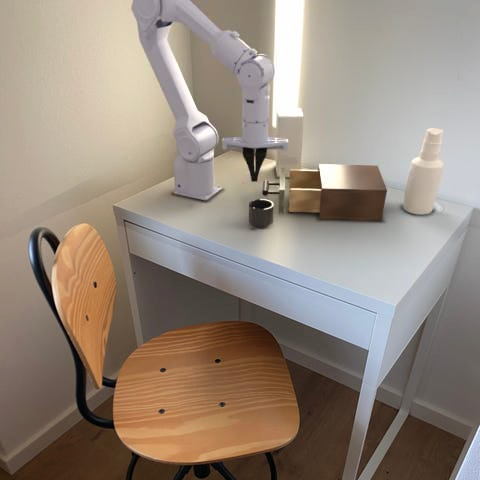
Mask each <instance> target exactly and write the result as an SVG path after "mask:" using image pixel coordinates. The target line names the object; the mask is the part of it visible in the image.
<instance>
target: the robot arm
mask: <svg viewBox="0 0 480 480" xmlns="http://www.w3.org/2000/svg"><path fill="white" fill-rule="evenodd" d="M130 9H131V12H132V14H133V16H134V18H135V20H136V24H137V32H138V39H139V43H140V45H141V47H142V50H143V51H144V54H145V56H146V58H147V60H148V62H149V64H150V65H149V66H150V67H151V69H152V72H153V73H154V76H155V78H156V80H157V82H158V84H159V87H160V89H161V91H162V94H163V96H164V97H165V100H166V102H167V104H168V106H169V108H170V110H171V111H170V112H171V113H172V115H173V117H174V120H175V125H174V128H173V133H172V134H173V136H174V138H175V142H176V149H177V152H178V155H177V156H176V157H175V158H174V161H173V177H174V191H173V194H175V195H178V196H183V197H187V198H191V199H196V200H202V201H209V199H210V198H212V197H213V196H214V195H216V194H217V193H218V192H220V191H221V190H222V187H221V186H217V185H215V184H216V183H215V182H216V180H215V149H216V147H217V146H218V144H219V139H220V138H219V133H218V131H217V129H216V128H215V127H214V125H212V123H210V120H209V118H208V116H207V115H205V114H204V113H202V112H200V111H199V110H198V107H197V106H196V103H195V101H194V99H193V97H192V94H191V92H190V90H189V87H188V85H187V82H186V80H185V78H184V76H183V74H182V71H181V69H180V67H179V64H178V62H177V60H176V57H175V55H174V53H173V51H172V48H171V46H170V43H169V41H168V36H169V34H170V30H171V28H172V26H173V25H174V24H175V23H181V24H182V25H183V26H184V27H186V28H187V29H188V30H190V31H191V32H192V33H194V34H195V35H196V36H198V38H200V39H201V40H202V41H204V42H206V43H207V44H208V45H209V46H210V48H211V53H212V56H213V57H214V58H215V59H216V60H217V61H218V62H220V63H221V64H222V65H223V66H224V67H226V69H228V70H229V71H230V72H231V73H233V75H235V76H236V80H237V83H238V85H239V87H240V88H241V100H242V101H241V107H242V108H241V109H242V110H241V117H242V118H241V136H234V137H223V138H222V140H221V149H222V150H228V149H231V150H232V149H233V150H234V149H236V150H238V149H239V150H242V157H243V159H244V161H245V163H246V165H247V169H248V171H249V176H250V182H252V183H257V182H258V181H259V179H258V178H259V174H260V170H261V168H262V165H263V163H264V161H265V159H266V158H267V153H268V150H275V151H276V150H283V151H288V139H278V138H276V137H271V136H270V137H269V124H270V123H269V122H270V91H271V90H270V89H271V88H270V87H271V85H270V83H271V82H272V81H273V79H274V76H275V70H276V69H275V65H274V62H273V61H272V60H271V59H270V58H269V56H268V55H267V54H264V53H260V54H259V53H258V50H256V49H255V48H251V47H250V46H249V45H247V44H246V43H245V41H243V40H242V39H240V33H238V32H237V31H236V30H234V31H232V30H230V29H226V30H221V29H220V28H219V27H218V26H217V25H216V24H215V23H214V22H213V21H211V20H210V18H209V17H208V16H207V15H206V14H204V13H203V12H202V11H201V10H200V9H199V8H198V7H197V5H196V4H195V3H193V2H192V0H132V3H131V7H130Z"/></svg>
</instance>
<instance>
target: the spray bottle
mask: <svg viewBox="0 0 480 480" xmlns="http://www.w3.org/2000/svg"><path fill="white" fill-rule="evenodd" d="M444 132H445V131H444V130H443V129H441V128H438V127H430V128H427V129H426V131H425V137H424V139H423V141H422V144H421V149H420V153H419V156H417V157H415V158H413V159H412V161H411V164H410V168H409V172H408V179H407V182H406V186H405V187H406V188H405V192H404V197H403V201H402V209H403V210H404V211H406V212H407V213H408V214H409V213H410V214H414V215H418V216H419V215H423V216H424V215H428V214H430V213H432V212H433V210H434V207H435V203H436V198H437V195H438V190H439V186H440V182H441V178H442V175H443V171H444V166H445V164H444V162H443V160H441V159H440V155H441V150H442V145H443V136H444Z"/></svg>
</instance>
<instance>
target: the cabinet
mask: <svg viewBox="0 0 480 480" xmlns="http://www.w3.org/2000/svg"><path fill="white" fill-rule="evenodd" d="M317 170H319V173H320V181H321V188H322V193H321V203H320V212H319V213H318V212H317V214H318V220H322V221H323V220H325V221H327V220H329V221H357V222H383V221H382V219H383V214H384V210H385V204H386V200H387V199H386V198H387V193H388V189H387V187H386V186H387V185H386V183H385V181H384V178H383V177H382V173H381V171H380V167H379V165H374V164H373V165H370V164H369V165H367V164H331V163H329V164H328V163H318V169H317Z"/></svg>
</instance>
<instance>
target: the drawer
mask: <svg viewBox="0 0 480 480" xmlns="http://www.w3.org/2000/svg"><path fill="white" fill-rule="evenodd" d="M278 179H279V181H269V180H267V179H264V180H263V182H262V189H261V190H262V191H261V195H262V196H263V197H267V196H268V195H278V213H277V214H279V215H280V214H281V215H282V214H283V215H284V213H285V196H286V177H285V168H280V177H279V178H278ZM288 181H289V182H288V211H289V213H291V212H292V213H317V214H318V213H319V212H320V203H321V193H322V188H321V181H320V173H319V170H318V169H301V170H298V169H290V177H289V179H288ZM270 186H278V190H270V188H269V187H270Z"/></svg>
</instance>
